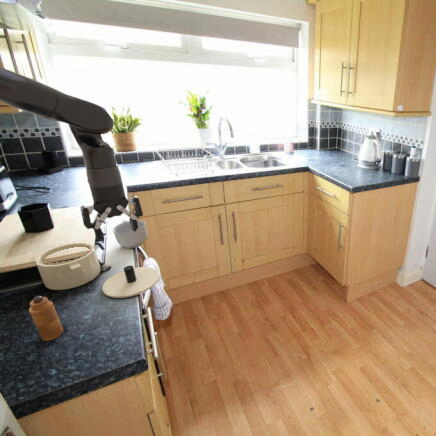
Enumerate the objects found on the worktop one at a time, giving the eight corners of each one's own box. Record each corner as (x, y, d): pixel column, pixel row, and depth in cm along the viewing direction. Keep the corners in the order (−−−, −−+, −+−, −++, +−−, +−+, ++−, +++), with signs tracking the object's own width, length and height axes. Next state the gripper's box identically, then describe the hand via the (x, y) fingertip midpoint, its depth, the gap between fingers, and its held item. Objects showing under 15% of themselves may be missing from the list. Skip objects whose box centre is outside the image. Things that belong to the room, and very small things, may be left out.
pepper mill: (43, 343, 78) (26, 305, 73) (39, 334, 81) (22, 297, 76) (65, 333, 81) (50, 296, 76) (61, 325, 84) (46, 288, 79)
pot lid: (114, 306, 91) (109, 289, 88) (95, 284, 100) (90, 268, 98) (169, 282, 102) (165, 267, 100) (147, 264, 111) (144, 249, 109)
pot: (54, 300, 93) (44, 275, 89) (37, 273, 104) (28, 251, 101) (110, 278, 103) (103, 256, 100) (89, 256, 115) (83, 235, 111)
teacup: (150, 247, 122) (146, 228, 119) (117, 253, 117) (112, 234, 114) (147, 232, 133) (143, 215, 130) (117, 238, 128) (112, 220, 124)
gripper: (77, 190, 80) (93, 247, 86) (139, 180, 89) (149, 231, 96) (70, 183, 84) (85, 238, 91) (129, 174, 94) (139, 224, 100)
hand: (118, 234), depth 93 cm, fingers open, 8 cm apart
